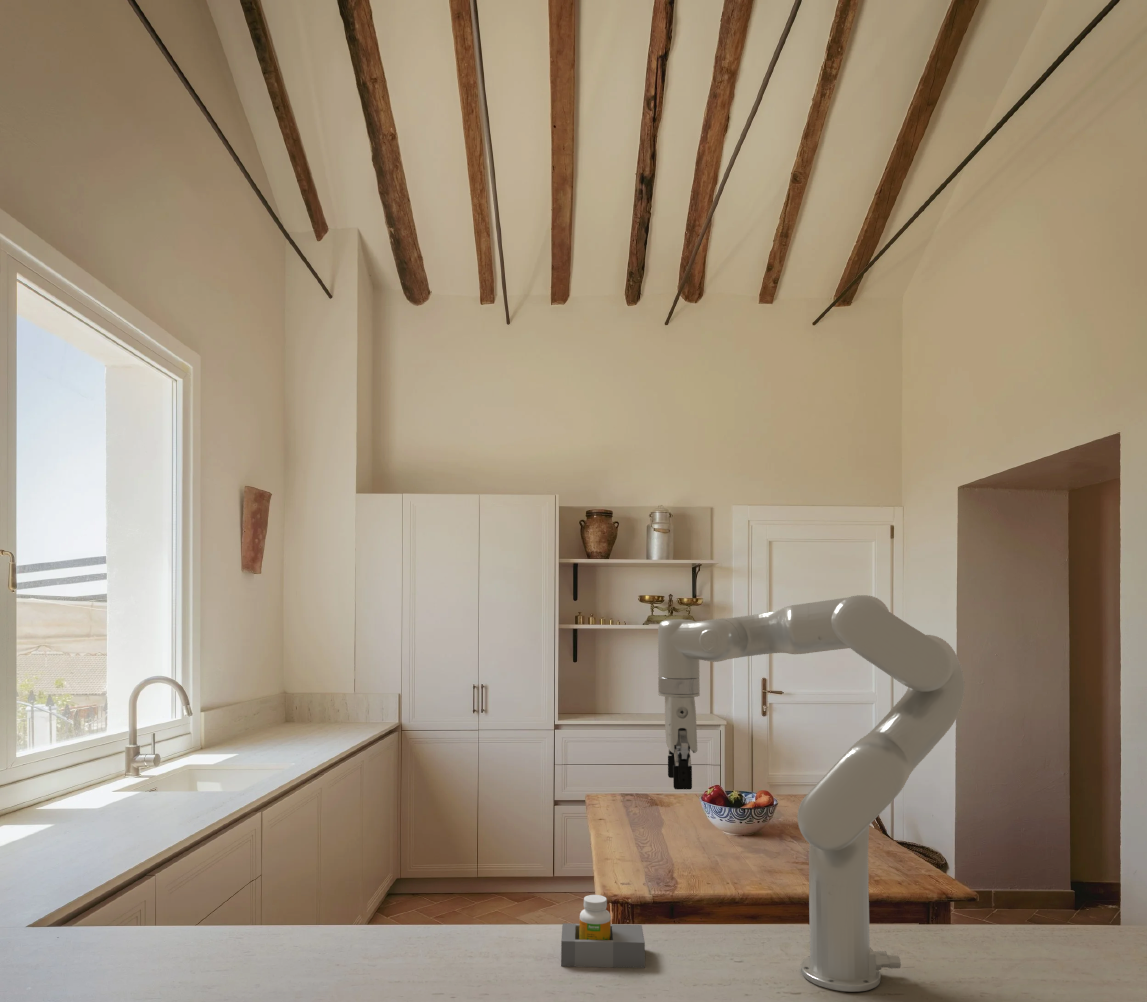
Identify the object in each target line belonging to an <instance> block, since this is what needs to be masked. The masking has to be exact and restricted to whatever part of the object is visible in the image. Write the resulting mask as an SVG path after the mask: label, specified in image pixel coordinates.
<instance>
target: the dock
mask: <svg viewBox="0 0 1147 1002" xmlns="http://www.w3.org/2000/svg"><path fill="white" fill-rule="evenodd" d="M561 925H562V926H561V941H560V942H561V943H560V944H561V946H560V947H561V948H560V949H561V951H560V955H561V956H560V965H561V966H560V967H582V968H583V967H586V968H587V967H589V968H594V967H595V968H597V967H598V968H637V969H638V968H639V969H641V968H643V969H645V966H646V965H645V964H646V961H645V960H646V953H645V952H646V942H645V936H644V930H643V925H642V924H621V923H620V924H617V923H616V924H615V923H614V924H613V923H611V931H610V940H579V923H562V924H561Z"/></svg>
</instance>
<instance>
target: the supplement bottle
mask: <svg viewBox="0 0 1147 1002" xmlns="http://www.w3.org/2000/svg"><path fill="white" fill-rule="evenodd" d="M607 907H608V899H607V897H606V896H604V895H601V894H590V895H585V896H584V897H583V908H584V909H582V910H581V911H580V913H579V923H578V924H579V940H610V931H611V924H612V921H611V920H612V918H611V917H612V916H611V913H610V911H608V910H607Z"/></svg>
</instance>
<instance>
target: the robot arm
mask: <svg viewBox="0 0 1147 1002" xmlns="http://www.w3.org/2000/svg"><path fill="white" fill-rule="evenodd" d="M657 628H658V630H657V632H658V633H657V641H658V642H657V643H658V644H657V645H658V646H657V648H658V649H657V650H658V651H657V652H658V653H657V654H658V655H657V657H658V663H657V664H658V665H657V667H658V669H657V670H658V673H657V675H658V683H657V684H658V691H657V692H658V696H661V697H664V729H665V732H664V733H665V743H666V747H667V748H668V755H667V776H668V778H670V779H673V788H674V790H692V789H693V766H692V759H691V752H692V753H693V754H697V752H698V734H697V733H698V732H697V730H698V729H697V710H696V698H697V697H700V695H701V693H700V688H701V687H700V661H703V662H704V661H706V662H710V663H711V662H712V663H718V662H723V661H727V660H732V659H738V658H744V657H746V658H747V657H752V656H761V655H769V654H770V655H771V654H789V655H806V654H810V653H811V654H813V653H820V652H828V651H835V650H837V651H838V650H845V649H850V650H851V651H853V652H854V653H856V654H857V655H859V657H862V658H863V659H865V660H866V661H868V662H869V663H870V664H872V665H874V666H875V667H876V668H878V669H879V670H881V672H884V673H885V674H887V675H888V676H890V677H891V678H893V679H894V680H896V681H897V682H899V684H901V685H903V686H905V687H906V689H907V690H906V691H905V693H904V695H902V697H901V698H900V699H899V700H898V701H897V702H896V704H895V705H894V706H893V707H892V708H891V709H890V711H889V712H888V713H887V714H886V715H885V716H884V717H883V719H881V721H879V723H877V725H876V726H874V727H873V728H872V729H871V730H870V731H869V733H867V734H866V735H864V736H863V737H861V738H860V739H859V740H857V741H856V742H855V743H854V744H853V745H852V746H851V747H849V749H848V750H847V751H846V752H845V753H844V754H843V756H841V757H840V759H838V761H837V762H835V764H834V765H833V766H832V767H831V768H830V769H829V770H828V771H827V772H826V774H825V775H824V776H822V778H821V779H820V780H819V781H818V782H817V783H816V784H815V785H814V786H813V787H812V788H811V789H810V791H809V792H808V793H806V795H805V796H804V797H803V798H802V800H801V802H800V803H799V807H798V809H797V815H796V816H797V818H796V819H797V825H798V829H799V832H800V833H801V835H802V837H803V838H804V840H805V841H806V842H807V843H808V844H809V845H808V847H809V848H808V901H809V902H808V908H809V911H808V912H809V913H808V915H809V917H808V918H809V956H806V957H805V958H803V959H802V960H801V962H800V973H801V975H802V976H803V977H804V978H805V979H806V980H807V981H809V982H810V983H812V984H814V985H815V986H819V987H822V988H824V989H829V990H834V991H837V992H839V991H840V992H848V993H857V992H859V993H860V992H866V991H870V990H872V989H875V988H876V987H878V986H879V984H880V983H881V972H880V971H881V970H882V968H888V969H900V968H901V966H902V964H901V958H900V955H894V954H888V952H887V950H876V951H875V950H873V949H872V947H870V945H871V944H870V941H871V940H870V937H871V936H870V902H869V901H870V900H869V899H870V898H869V897H870V894H869V893H870V892H869V890H870V889H869V880H870V879H869V843H870V841H869V840H870V839H869V838H870V825H871V824H872V823H873V822H874V821H875V820H876V819H877V818H878V817H879V816H880V814H882V812H883V811H884V810H886V808H887V807H889V805H890V804H891V803H892V802H893V801H894V800H895V799H896V798H897V796H898V795H899V794H900V793H901V792H902V790H903V788H904V787H905V785H906V783H907V782H908V779H909V777H910V776H911V774H912V772H913V771H914V770H915V768H917V766H918V765H919V764H920V763H921V762H922V761H923V760H924V759H925V758H926V757H927V755H928V754H929V753H930V752H931V751H932V750H933V749H934V748H935V746H936V745H937V744H938V743H939V742H940V741H941V740H942V738H943V737H945V735H946V734H947V733H948V731H949V730H950V729H951V728H952V726H953V725H954V723H955V722H956V720H957V718H958V716H959V714H960V712H961V710H962V706H963V703H964V699H965V698H964V697H965V692H966V688H965V687H966V684H965V683H966V682H965V675H964V671H963V668H962V664H961V662H960V659H959V658H958V657H959V656H958V655H957V654H956V651H955V650H954V649H953V646H951V645H950V644H949V643H948V642H947V641H946V640H945V639H943V638H941V637H939V636H937V635H934V634H933V635H932V634H925V633H924V632H922V631H920V630H918V629H917V628H915V627H913V626H912V625H911V624H909V623H907V622H906V621H904V620H902V619H901V618H899V617H898V616H896V615H895V614H893V613H892V612H891V611H890V610H889V608H888V607H887V605H886V604H885V603H884V602H883V601H882V600H881V599H879V598H878V597H875V596H874V595H872V596H871V595H864V594H863V595H858V594H857V595H852V596H848V597H843V598H842V597H841V598H834V599H828V600H823V601H822V600H821V601H815V602H806V603H800V604H793V605H788V606H784V607H782V608H780V609H778V610H774V611H770V612H764V613H758V614H750V615H742V616H735V617H726V618H725V617H724V618H723V617H722V618H716V619H705V620H698V621H695V620H694V619H693V620H692V619H682V618H681V619H678V618H677V619H673V618H672V619H664V620H662V621H660V623H659V624H658V627H657Z"/></svg>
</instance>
